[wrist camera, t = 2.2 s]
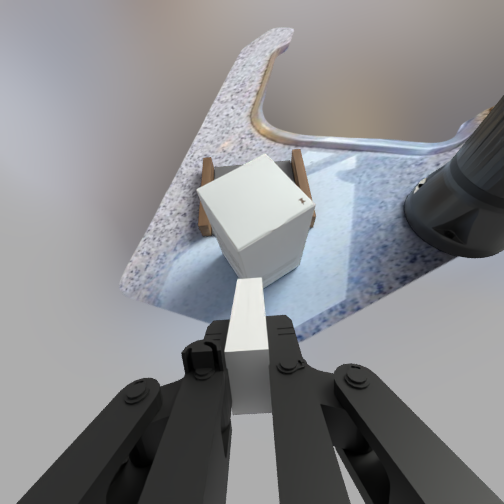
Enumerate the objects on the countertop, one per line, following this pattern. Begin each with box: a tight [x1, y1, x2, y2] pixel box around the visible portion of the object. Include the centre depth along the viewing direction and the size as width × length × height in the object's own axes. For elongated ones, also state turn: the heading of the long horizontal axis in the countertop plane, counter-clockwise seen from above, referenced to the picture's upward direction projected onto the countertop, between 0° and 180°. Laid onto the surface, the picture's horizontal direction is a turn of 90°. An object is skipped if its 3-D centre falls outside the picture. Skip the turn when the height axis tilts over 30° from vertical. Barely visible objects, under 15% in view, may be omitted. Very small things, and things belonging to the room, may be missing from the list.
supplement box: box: [196, 154, 316, 288], centre depth 30 cm, size 9×9×15 cm
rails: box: [198, 149, 316, 236], centre depth 42 cm, size 18×16×3 cm
